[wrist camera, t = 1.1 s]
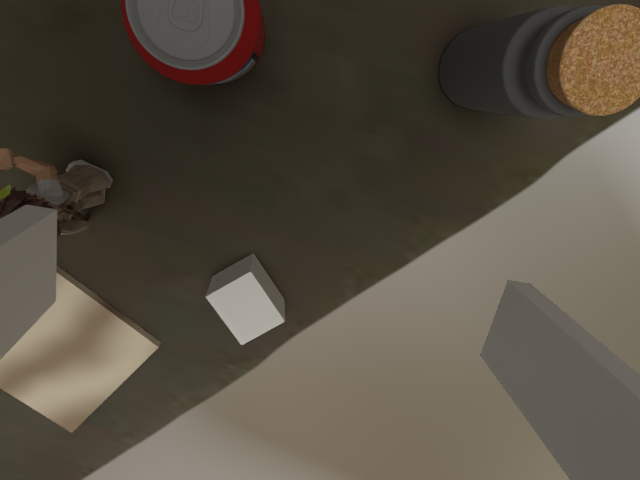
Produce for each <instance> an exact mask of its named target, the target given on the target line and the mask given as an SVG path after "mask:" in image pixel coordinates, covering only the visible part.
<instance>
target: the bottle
mask: <svg viewBox="0 0 640 480" xmlns="http://www.w3.org/2000/svg"><path fill="white" fill-rule="evenodd" d="M439 79H440V83H441V87H442V89H443V91H444V93H445V94H446V96H447V97H448V98H449V99H450V100H451V101H452V102H453V103H455V104H456V105H458V106H460V107H463V108H467V109H472V110H478V111H484V112H491V113H497V114H503V115H510V116H516V117H523V118H530V119H540V120H547V119H554V118H559V117H561V116H568V117H580V116H585V115H593V116H605V115H610V114H613V113H616V112H619V111H621V110H623V109H625V108H627V107H628V106H630V105H631V104H632V103H634V102H635V101H636V100H637V99H638V98H639V97H640V9H639V8H637V7H634V6H631V5H626V4H613V5H608V6H605V7H603V6H597V5H592V6H583V7H578V8H574V7H571V6H553V7H549V8H544V9H540V10H536V11H532V12H528V13H524V14H520V15H517V16H513V17H509V18H506V19H502V20H498V21H494V22H491V23H487V24H484V25H480V26H477V27H474V28H471V29H468V30H466V31H464V32H462V33H460V34H459V35H457V36H456V37H455V38H454V39H453V40H452V41H451V42H450V43H449V45H448V46H447V48H446V49H445V51H444V53H443V55H442V58H441V62H440V66H439Z"/></svg>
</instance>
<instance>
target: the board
mask: <svg viewBox="0 0 640 480" xmlns="http://www.w3.org/2000/svg"><path fill="white" fill-rule="evenodd" d="M160 343H161V342H160V341H159V340H157V339H156V338H155V337H153V336H152V335H150V334H149V333H148V332H146V331H145V330H144V329H142V328H141V327H140V326H138V325H137V324H136V323H134V322H133V321H132V320H130V319H129V318H127V317H126V316H125V315H123V314H122V313H121V312H119V311H118V310H117V309H115V308H114V307H113V306H111V305H110V304H109V303H107V302H106V301H104V300H103V299H102V298H100V297H99V296H98V295H96V294H95V293H94V292H92V291H91V290H90V289H88V288H87V287H86V286H84V285H83V284H81V283H80V282H79V281H77V280H76V279H75V278H73V277H72V276H71V275H69V274H68V273H67V272H65V271H64V270H63V269H61V268H60V267H58V266H57V265H56V302H55V303H54V304H53V305H52V306H51V307H50V308H49V309H48V310H47V311H46V312H45V313H44V314H43V315H42V316H41V317H40V318H39V319H38V321H37V322H36V323H35V324H34V325H33V326H32V327H31V328H30V329H29V330H28V331H27V332H26V333H25V334H24V335H23V336H22V337H21V339H20V340H19V341H18V342H17V343H16V344H15V345H14V346H13V347H12V348H11V349H10V350H9V351H8V352H7V353H6V354H5V355H4V357H3V358H2V359H1V360H0V388H1V389H2V390H4V391H5V392H7V393H9V394H10V395H12V396H14V397H15V398H17V399H18V400H20V401H22V402H23V403H25V404H26V405H28V406H30V407H31V408H33V409H34V410H36V411H38V412H39V413H41V414H42V415H44V416H46V417H47V418H49V419H50V420H52V421H54V422H55V423H57V424H59V425H60V426H62V427H63V428H65V429H67V430H68V431H70V432H71V433H72V432H73V431H74V430H75V429H76V428H77V427H78V426H79V425H80V424H81V423H82V422H83V421H84V420H85V419H86V418H87V417H88V416H89V415H90V414H91V413H92V412H93V411H94V410H95V409H96V408H97V407H98V406H100V405H101V404H102V403H103V402H104V401H105V400H106V399H107V398H108V397H109V396H110V395H111V394H112V393H113V392H114V391H115V390H116V389H117V388H118V387H119V386H120V385H121V384H122V383H123V382H124V381H125V380H126V379H127V378H128V377H129V376H130V375H131V374H132V373H133V372H134V371H135V370H136V369H137V368H138V367H139V366H140V365H141V364H142V363H143V362H144V361H145V360H146V359H147V358H148V357H149V356H150V355H151V354H152V353H153V352H155V351H156V350H157V349H158V348H159V346H160Z"/></svg>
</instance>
